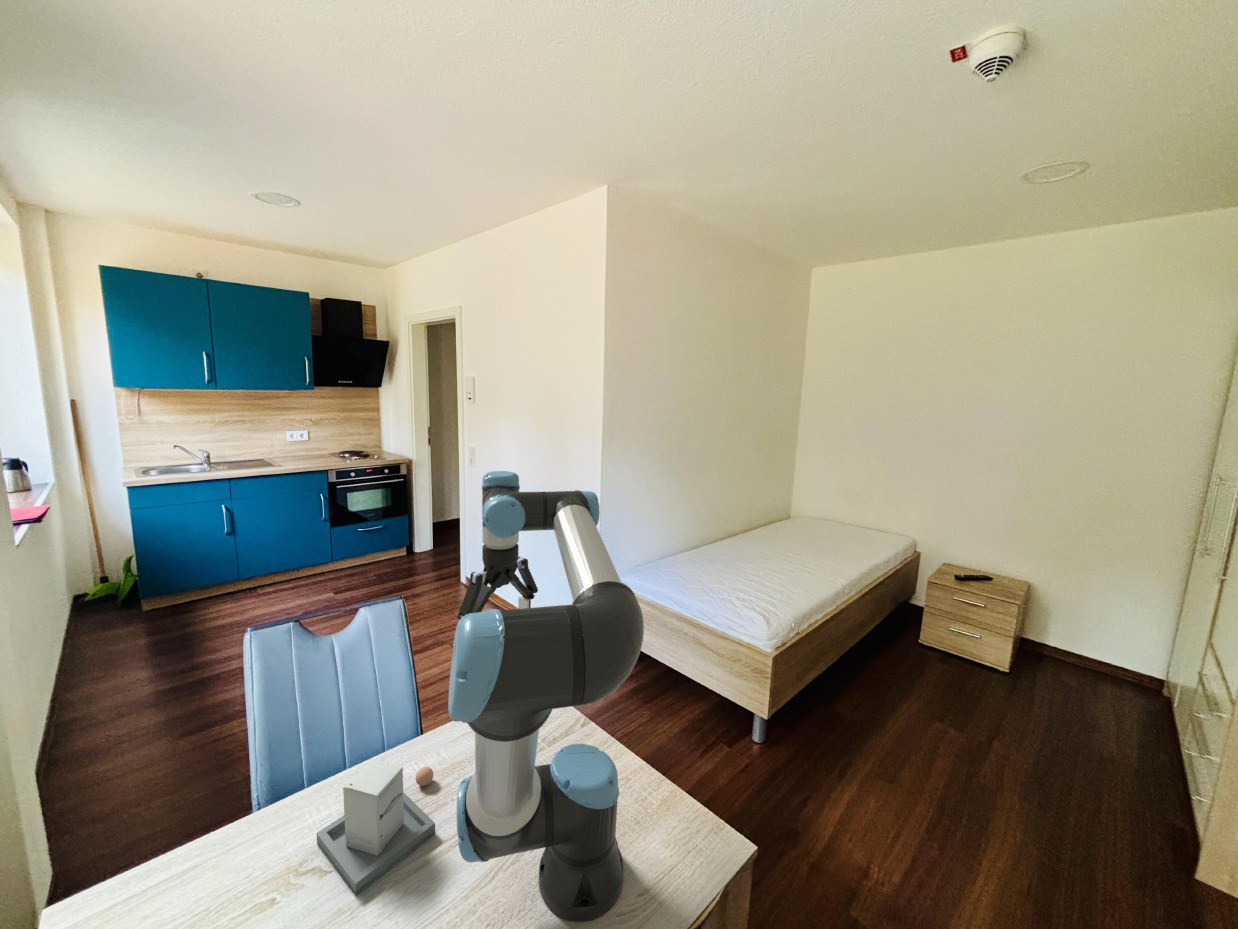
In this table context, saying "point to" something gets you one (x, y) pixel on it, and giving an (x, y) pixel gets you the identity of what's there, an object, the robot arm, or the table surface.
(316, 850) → the table surface
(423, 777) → the mixing ball
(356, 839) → the supplement box
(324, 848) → the tray
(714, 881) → the table surface
